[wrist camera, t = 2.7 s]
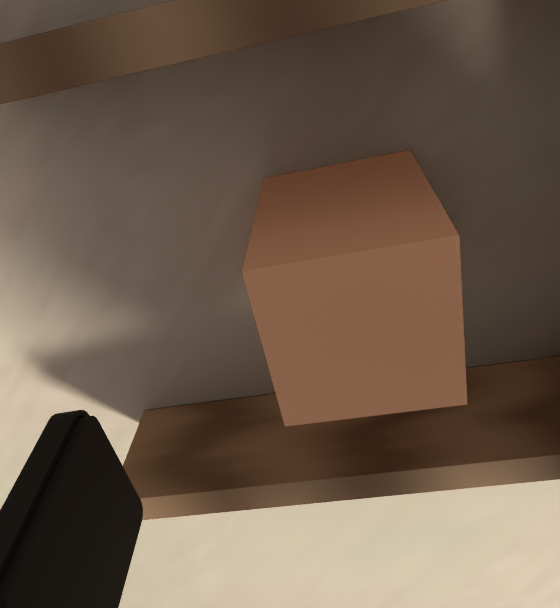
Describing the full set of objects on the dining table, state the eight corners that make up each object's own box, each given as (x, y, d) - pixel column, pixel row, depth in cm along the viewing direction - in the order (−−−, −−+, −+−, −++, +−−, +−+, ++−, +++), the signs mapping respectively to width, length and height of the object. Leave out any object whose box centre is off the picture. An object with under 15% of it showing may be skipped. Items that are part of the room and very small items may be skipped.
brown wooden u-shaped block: (698, -128, 14) (872, -177, 9) (626, 370, 22) (702, 464, 18) (-17, 52, 17) (-129, 76, 13) (152, 429, 25) (120, 522, 21)
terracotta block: (410, 149, 18) (459, 235, 12) (421, 279, 20) (467, 404, 14) (264, 178, 19) (241, 271, 13) (292, 299, 21) (284, 426, 15)
